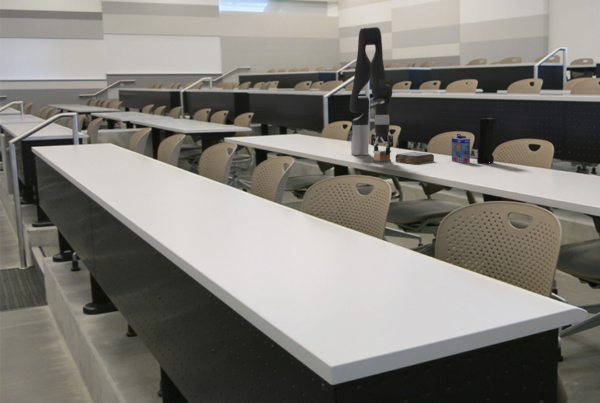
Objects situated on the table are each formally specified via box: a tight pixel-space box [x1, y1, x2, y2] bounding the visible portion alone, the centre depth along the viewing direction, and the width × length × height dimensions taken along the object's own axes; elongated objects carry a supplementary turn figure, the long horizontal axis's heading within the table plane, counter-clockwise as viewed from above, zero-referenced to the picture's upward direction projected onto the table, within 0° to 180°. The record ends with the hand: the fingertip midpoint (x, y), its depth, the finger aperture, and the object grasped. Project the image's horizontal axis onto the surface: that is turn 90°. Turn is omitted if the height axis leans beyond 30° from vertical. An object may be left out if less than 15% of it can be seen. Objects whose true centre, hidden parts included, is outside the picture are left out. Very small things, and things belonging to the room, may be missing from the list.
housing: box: [372, 149, 392, 164], centre depth 338 cm, size 5×8×6 cm, turn 127°
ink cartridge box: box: [451, 133, 471, 164], centre depth 331 cm, size 10×6×14 cm, turn 17°
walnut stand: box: [395, 151, 435, 165], centre depth 336 cm, size 14×14×4 cm
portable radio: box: [476, 113, 496, 164], centre depth 324 cm, size 8×6×25 cm
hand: (382, 154), depth 338 cm, fingers open, 8 cm apart
